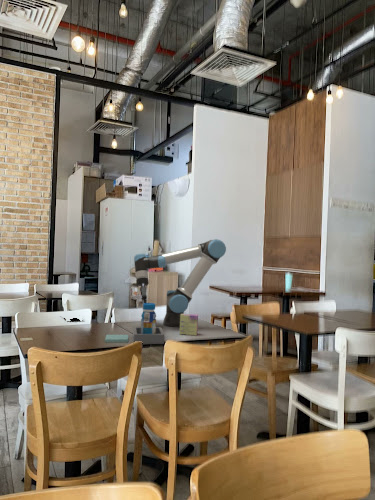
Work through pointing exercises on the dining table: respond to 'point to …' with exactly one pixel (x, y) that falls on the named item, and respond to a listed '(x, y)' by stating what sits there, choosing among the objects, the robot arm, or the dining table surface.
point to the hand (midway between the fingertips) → (145, 312)
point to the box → (189, 324)
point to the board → (116, 338)
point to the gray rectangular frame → (148, 336)
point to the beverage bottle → (148, 319)
